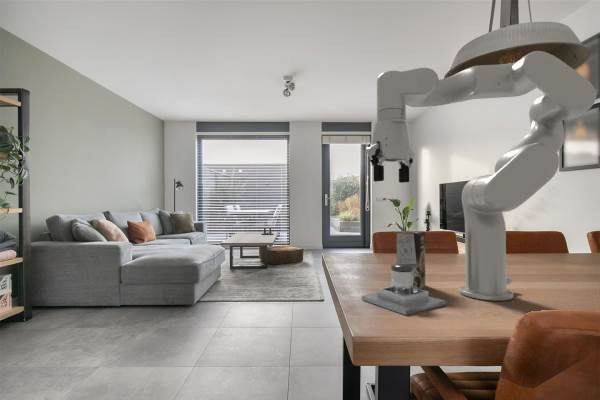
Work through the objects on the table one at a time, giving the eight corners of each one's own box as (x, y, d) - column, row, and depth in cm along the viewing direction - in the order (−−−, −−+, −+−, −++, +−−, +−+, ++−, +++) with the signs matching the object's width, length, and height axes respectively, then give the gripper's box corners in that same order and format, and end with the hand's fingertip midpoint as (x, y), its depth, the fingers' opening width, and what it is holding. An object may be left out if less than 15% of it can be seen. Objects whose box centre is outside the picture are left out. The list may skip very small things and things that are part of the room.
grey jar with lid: (417, 299, 82) (417, 266, 82) (403, 302, 79) (403, 268, 79) (401, 294, 86) (401, 263, 86) (386, 297, 84) (386, 265, 84)
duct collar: (400, 292, 92) (400, 281, 92) (445, 304, 80) (445, 292, 80) (361, 299, 85) (361, 287, 85) (405, 315, 73) (405, 301, 73)
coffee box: (419, 292, 92) (418, 233, 92) (395, 289, 95) (395, 232, 96) (426, 285, 100) (425, 231, 100) (404, 282, 103) (404, 230, 103)
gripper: (402, 125, 99) (402, 183, 99) (357, 117, 90) (358, 181, 90) (423, 120, 93) (424, 182, 92) (378, 111, 84) (378, 179, 83)
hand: (391, 181), depth 91 cm, fingers open, 9 cm apart
